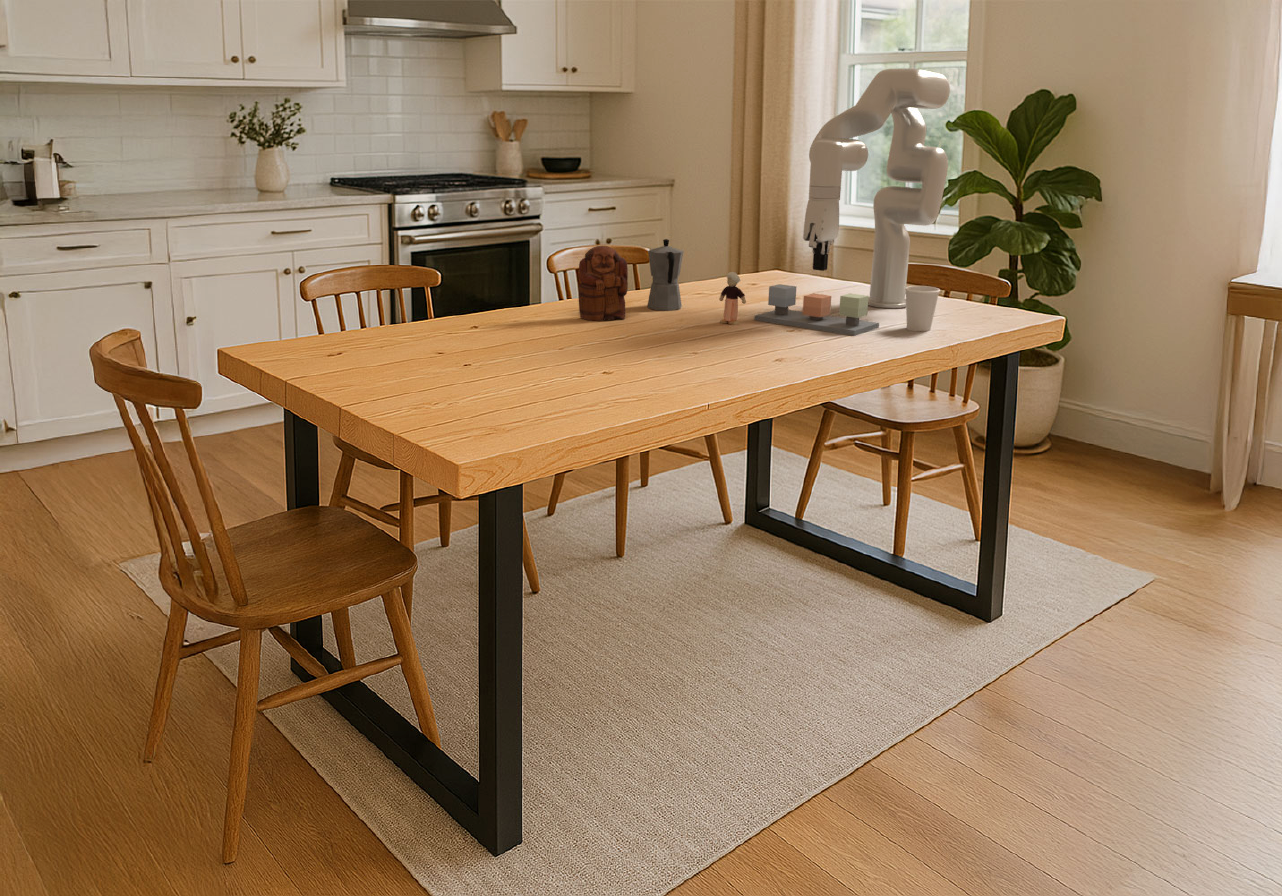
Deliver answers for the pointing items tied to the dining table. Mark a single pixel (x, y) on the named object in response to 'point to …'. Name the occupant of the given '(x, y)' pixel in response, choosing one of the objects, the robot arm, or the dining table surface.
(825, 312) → the button terracotta
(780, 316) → the button board
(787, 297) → the button slate
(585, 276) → the wooden figurine
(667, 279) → the coffeepot
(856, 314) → the button sage
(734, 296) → the grandmother figurine
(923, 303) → the dixie cup
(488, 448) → the dining table surface
